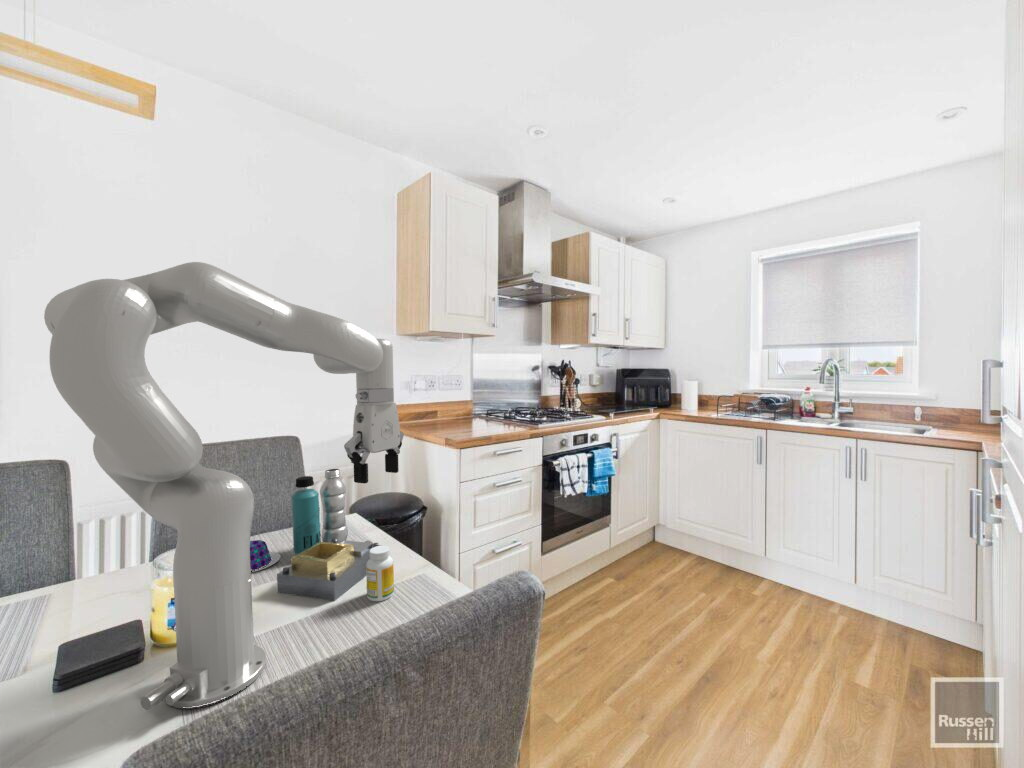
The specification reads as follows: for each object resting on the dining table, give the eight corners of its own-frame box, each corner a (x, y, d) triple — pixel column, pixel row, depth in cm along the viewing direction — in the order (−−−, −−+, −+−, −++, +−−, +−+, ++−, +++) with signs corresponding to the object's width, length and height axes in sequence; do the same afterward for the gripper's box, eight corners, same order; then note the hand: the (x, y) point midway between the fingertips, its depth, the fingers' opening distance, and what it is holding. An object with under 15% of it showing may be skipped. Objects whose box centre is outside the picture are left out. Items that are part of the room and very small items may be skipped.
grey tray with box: (334, 600, 87) (333, 568, 86) (277, 592, 90) (276, 562, 90) (390, 556, 107) (389, 530, 107) (341, 551, 111) (340, 526, 110)
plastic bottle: (353, 541, 117) (351, 468, 116) (331, 550, 111) (328, 474, 111) (338, 537, 120) (336, 466, 120) (316, 545, 115) (313, 471, 114)
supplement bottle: (365, 604, 85) (364, 556, 85) (368, 590, 90) (366, 545, 90) (394, 599, 87) (392, 553, 86) (394, 587, 92) (393, 542, 91)
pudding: (257, 552, 112) (256, 532, 112) (291, 558, 108) (290, 537, 108) (210, 572, 101) (209, 550, 101) (247, 580, 97) (246, 557, 96)
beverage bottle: (301, 563, 104) (298, 481, 103) (288, 557, 108) (285, 478, 107) (326, 554, 109) (324, 476, 108) (313, 548, 113) (310, 472, 112)
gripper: (360, 399, 82) (362, 489, 82) (414, 395, 98) (415, 469, 98) (330, 399, 85) (332, 485, 85) (387, 395, 101) (389, 467, 101)
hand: (377, 477), depth 92 cm, fingers open, 9 cm apart
